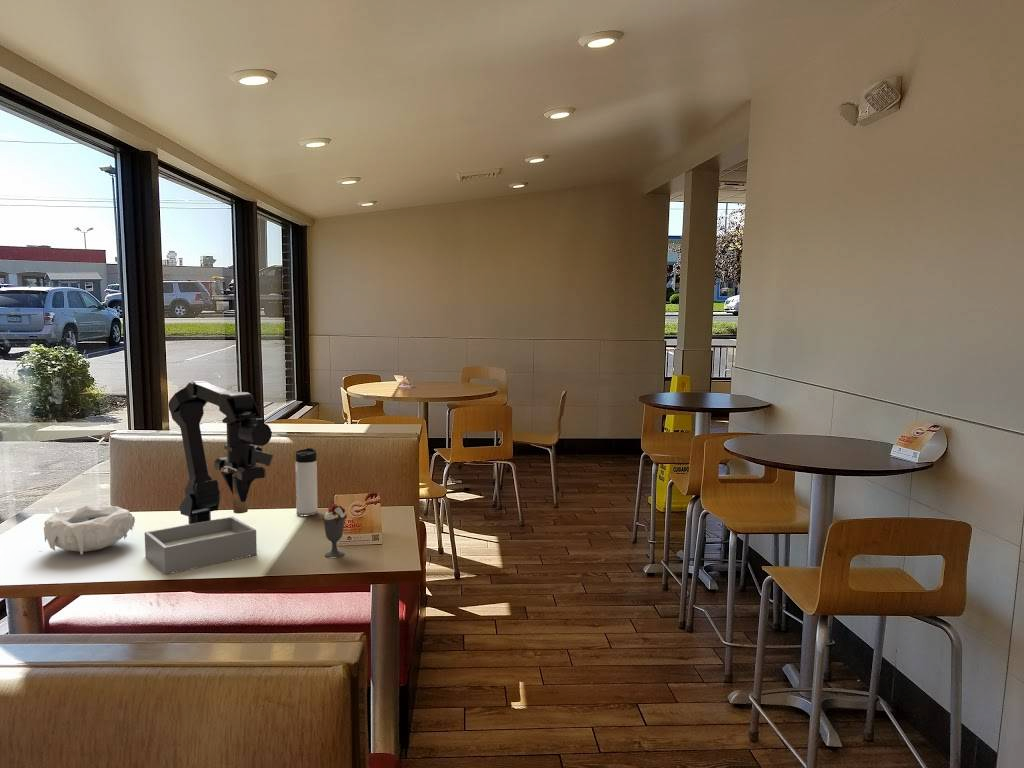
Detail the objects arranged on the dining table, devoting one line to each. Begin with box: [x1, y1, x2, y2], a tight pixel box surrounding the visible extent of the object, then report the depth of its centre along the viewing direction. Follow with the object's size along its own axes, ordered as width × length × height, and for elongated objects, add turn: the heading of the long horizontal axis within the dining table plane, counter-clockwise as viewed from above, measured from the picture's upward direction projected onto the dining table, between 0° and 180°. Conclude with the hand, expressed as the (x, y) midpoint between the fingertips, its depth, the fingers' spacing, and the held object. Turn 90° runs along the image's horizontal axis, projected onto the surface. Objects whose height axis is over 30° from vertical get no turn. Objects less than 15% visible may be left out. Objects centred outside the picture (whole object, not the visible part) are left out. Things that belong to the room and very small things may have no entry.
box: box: [144, 516, 258, 575], centre depth 182 cm, size 16×22×6 cm
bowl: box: [43, 504, 136, 556], centre depth 187 cm, size 21×20×10 cm
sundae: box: [320, 499, 348, 558], centre depth 184 cm, size 7×7×15 cm
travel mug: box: [295, 447, 319, 516], centre depth 221 cm, size 6×7×20 cm
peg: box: [232, 473, 249, 515], centre depth 187 cm, size 4×4×10 cm
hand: (240, 500), depth 188 cm, fingers closed on peg, 3 cm apart
